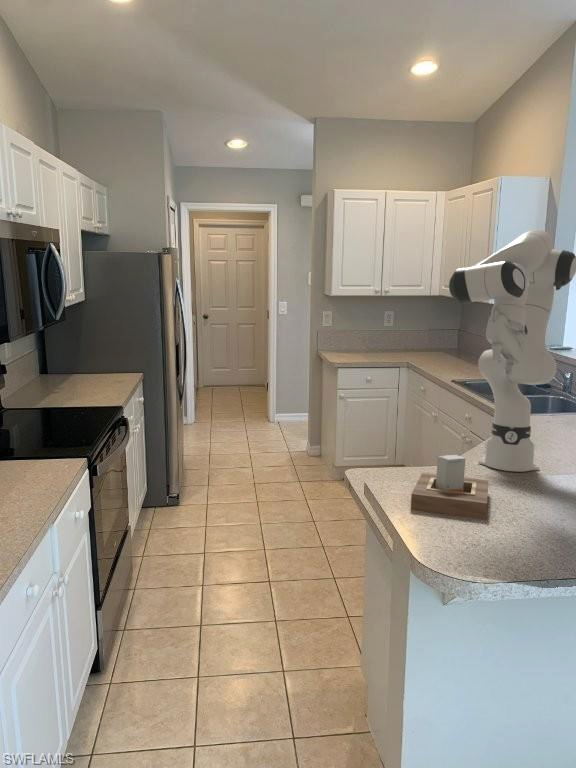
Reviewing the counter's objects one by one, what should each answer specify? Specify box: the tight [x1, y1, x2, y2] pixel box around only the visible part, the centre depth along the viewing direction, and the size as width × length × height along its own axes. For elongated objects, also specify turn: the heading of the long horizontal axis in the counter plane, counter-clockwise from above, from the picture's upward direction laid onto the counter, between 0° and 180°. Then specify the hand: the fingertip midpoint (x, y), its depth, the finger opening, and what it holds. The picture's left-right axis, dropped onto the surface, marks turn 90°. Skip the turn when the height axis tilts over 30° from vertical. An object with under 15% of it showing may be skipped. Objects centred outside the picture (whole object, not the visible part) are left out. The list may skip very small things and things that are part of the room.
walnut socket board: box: [410, 472, 489, 520], centre depth 152 cm, size 22×18×4 cm
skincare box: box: [436, 454, 466, 492], centre depth 152 cm, size 6×4×12 cm
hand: (502, 368), depth 155 cm, fingers open, 8 cm apart
